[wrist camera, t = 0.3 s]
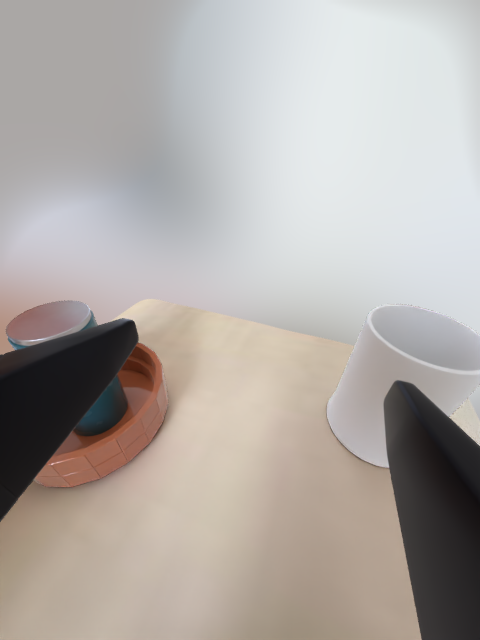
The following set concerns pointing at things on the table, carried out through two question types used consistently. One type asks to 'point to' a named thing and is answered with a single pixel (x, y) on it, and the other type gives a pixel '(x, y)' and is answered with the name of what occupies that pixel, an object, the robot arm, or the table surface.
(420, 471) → the robot arm
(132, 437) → the pot
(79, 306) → the can
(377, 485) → the table surface
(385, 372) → the mug
